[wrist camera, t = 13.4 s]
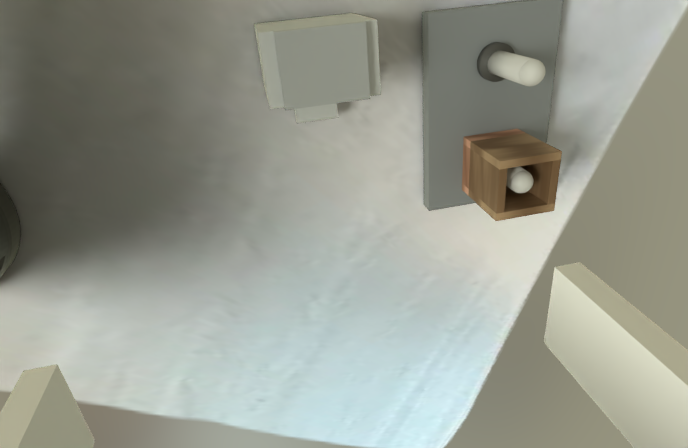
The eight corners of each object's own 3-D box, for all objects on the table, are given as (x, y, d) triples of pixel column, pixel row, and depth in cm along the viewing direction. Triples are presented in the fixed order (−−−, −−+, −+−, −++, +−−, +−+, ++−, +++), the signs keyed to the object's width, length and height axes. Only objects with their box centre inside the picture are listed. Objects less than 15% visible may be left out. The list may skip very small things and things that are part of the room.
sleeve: (461, 189, 47) (495, 221, 40) (463, 136, 44) (500, 161, 38) (512, 181, 47) (553, 210, 41) (517, 128, 45) (561, 151, 39)
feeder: (270, 122, 41) (277, 154, 34) (254, 23, 38) (258, 33, 30) (359, 110, 42) (385, 137, 35) (352, 12, 39) (380, 20, 31)
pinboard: (423, 204, 48) (457, 244, 41) (422, 11, 40) (464, 18, 32) (532, 186, 50) (584, 221, 42) (553, -3, 41) (622, 0, 34)
